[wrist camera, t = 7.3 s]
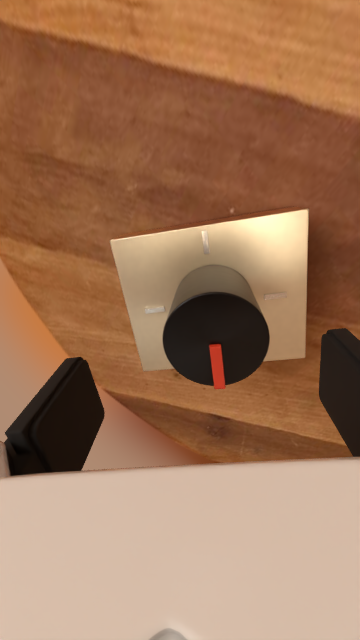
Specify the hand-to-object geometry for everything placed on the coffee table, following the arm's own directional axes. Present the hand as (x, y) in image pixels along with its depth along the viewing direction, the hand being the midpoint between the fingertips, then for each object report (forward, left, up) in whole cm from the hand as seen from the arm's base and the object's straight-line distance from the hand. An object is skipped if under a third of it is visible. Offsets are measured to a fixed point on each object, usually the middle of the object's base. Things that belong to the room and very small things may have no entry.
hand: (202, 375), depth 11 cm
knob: (+1, 0, -8) cm, 8 cm away
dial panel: (+1, 0, -11) cm, 11 cm away
